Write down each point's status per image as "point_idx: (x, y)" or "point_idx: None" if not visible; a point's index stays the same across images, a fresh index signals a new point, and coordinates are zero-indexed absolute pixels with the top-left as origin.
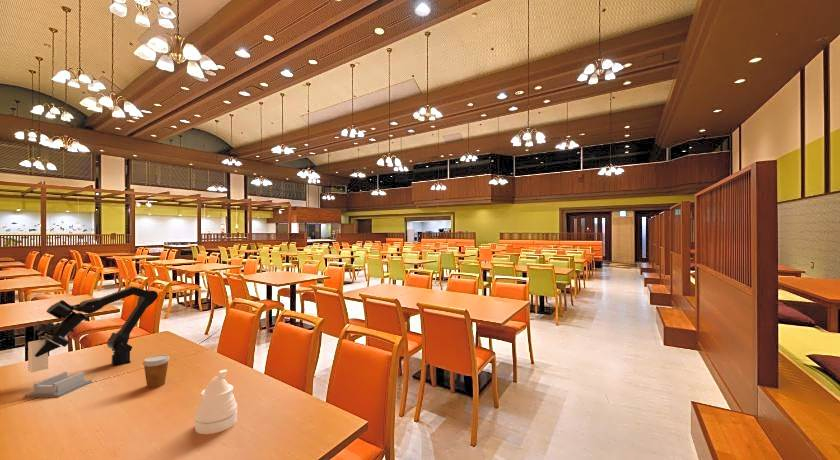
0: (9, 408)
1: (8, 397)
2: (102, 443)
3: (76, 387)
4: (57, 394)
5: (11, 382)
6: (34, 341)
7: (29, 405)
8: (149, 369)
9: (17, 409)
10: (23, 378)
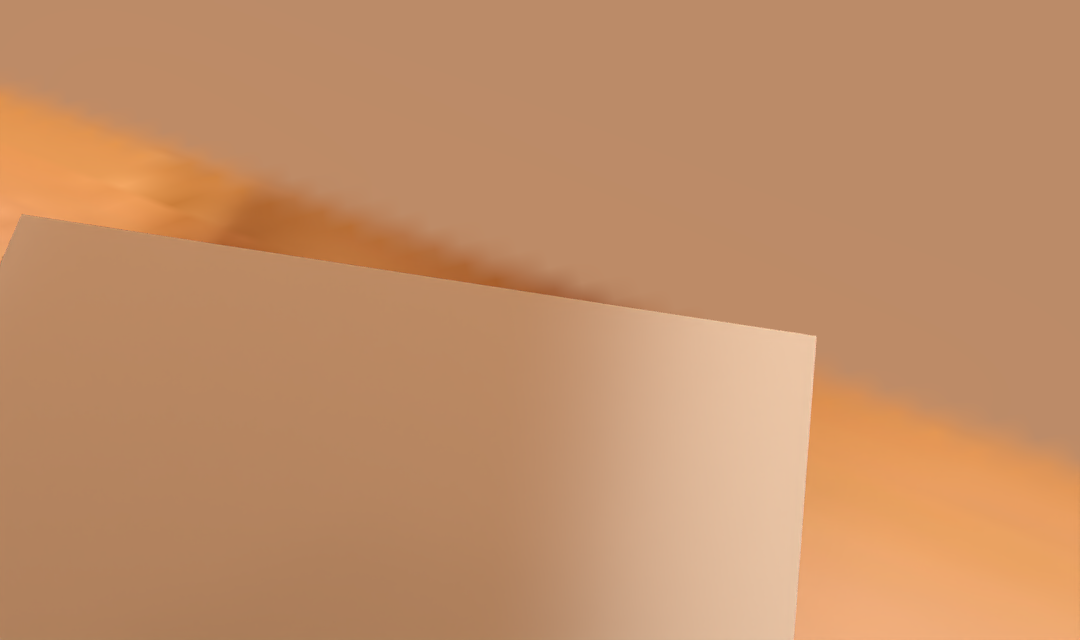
0: (123, 145)
1: (433, 249)
2: None
3: None
4: None
5: (1008, 481)
6: (535, 629)
7: (10, 234)
8: None
9: (30, 160)
10: (1066, 624)
